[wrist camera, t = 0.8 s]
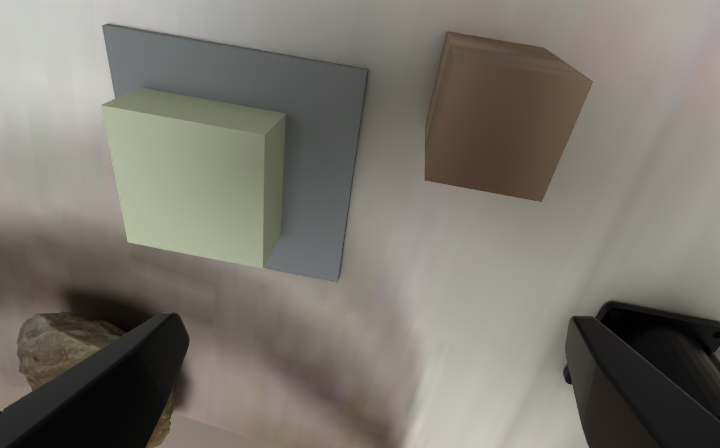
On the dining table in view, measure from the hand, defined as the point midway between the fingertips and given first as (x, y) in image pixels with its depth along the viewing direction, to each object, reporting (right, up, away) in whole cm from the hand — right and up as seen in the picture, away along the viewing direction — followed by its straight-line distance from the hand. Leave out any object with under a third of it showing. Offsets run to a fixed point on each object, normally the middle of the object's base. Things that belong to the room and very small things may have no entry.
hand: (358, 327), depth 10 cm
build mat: (-6, +5, +12) cm, 15 cm away
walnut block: (+5, +8, +9) cm, 13 cm away
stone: (-18, -7, +22) cm, 29 cm away
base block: (-7, +5, +12) cm, 15 cm away
